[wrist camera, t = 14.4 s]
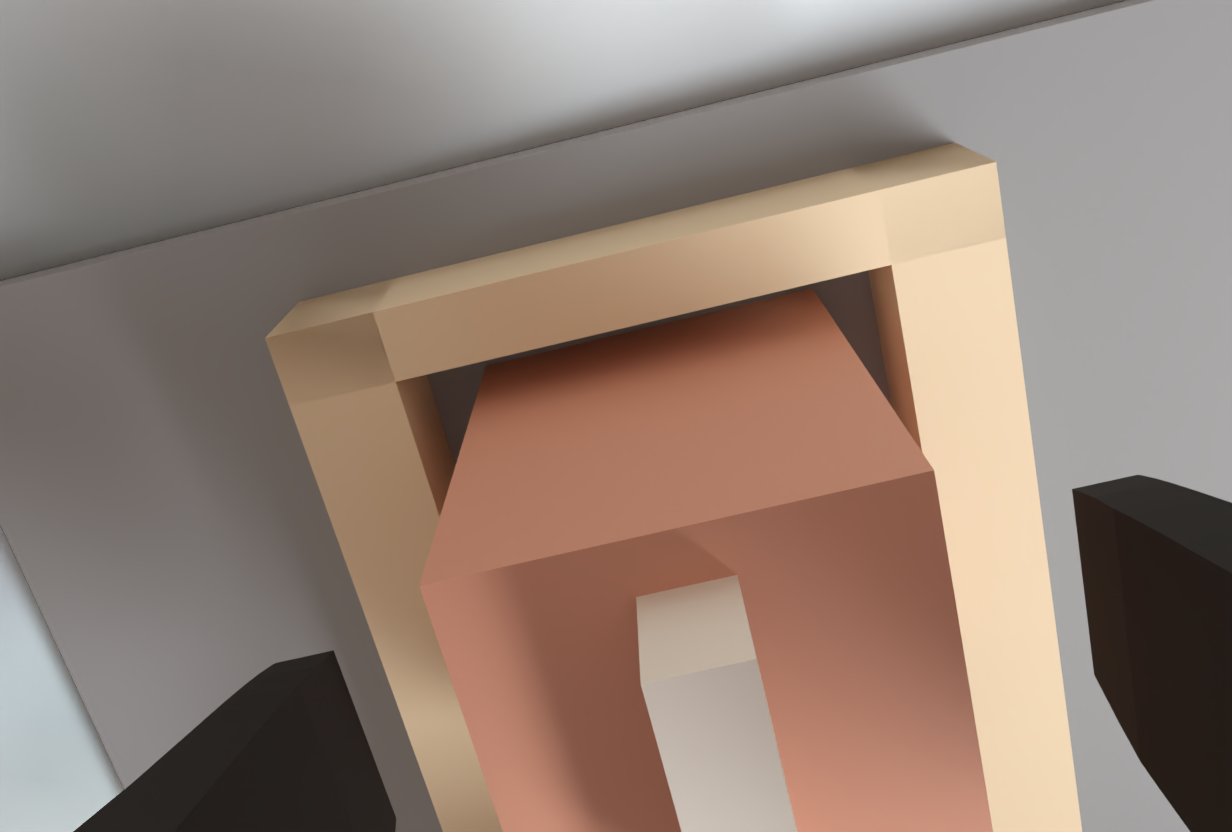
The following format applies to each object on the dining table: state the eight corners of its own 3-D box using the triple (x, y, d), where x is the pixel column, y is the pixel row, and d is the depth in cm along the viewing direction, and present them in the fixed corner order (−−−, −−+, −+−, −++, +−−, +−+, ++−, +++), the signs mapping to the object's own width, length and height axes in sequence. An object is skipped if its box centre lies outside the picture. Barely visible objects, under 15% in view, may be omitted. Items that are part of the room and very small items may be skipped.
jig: (1367, 1138, 20) (1452, 1267, 18) (391, 1309, 21) (370, 1448, 19) (1335, -52, 13) (1462, -58, 11) (-74, 298, 15) (-179, 350, 13)
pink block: (868, 580, 15) (1052, 1001, 9) (569, 645, 16) (546, 1094, 9) (812, 288, 14) (982, 542, 8) (486, 366, 14) (393, 671, 8)
